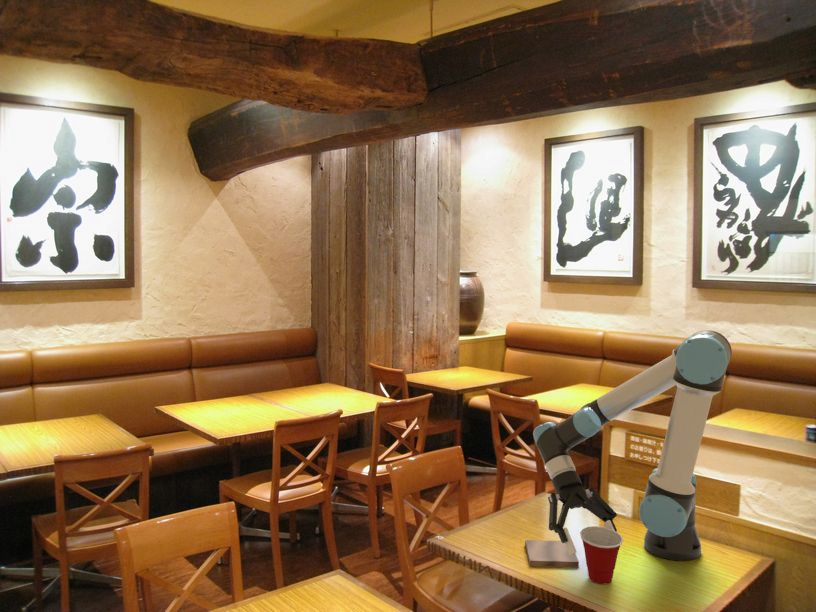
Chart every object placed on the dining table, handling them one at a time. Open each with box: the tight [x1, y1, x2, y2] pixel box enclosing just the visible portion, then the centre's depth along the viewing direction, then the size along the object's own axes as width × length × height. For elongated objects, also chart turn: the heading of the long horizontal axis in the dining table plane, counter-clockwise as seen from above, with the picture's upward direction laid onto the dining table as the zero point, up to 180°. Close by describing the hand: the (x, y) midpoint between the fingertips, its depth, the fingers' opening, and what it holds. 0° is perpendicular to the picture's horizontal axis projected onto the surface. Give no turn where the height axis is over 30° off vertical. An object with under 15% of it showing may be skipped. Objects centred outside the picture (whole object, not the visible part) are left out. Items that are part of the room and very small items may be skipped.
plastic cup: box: [579, 526, 624, 585], centre depth 175 cm, size 11×11×12 cm
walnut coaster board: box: [524, 539, 580, 568], centre depth 189 cm, size 13×13×2 cm
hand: (595, 550), depth 175 cm, fingers open, 13 cm apart
